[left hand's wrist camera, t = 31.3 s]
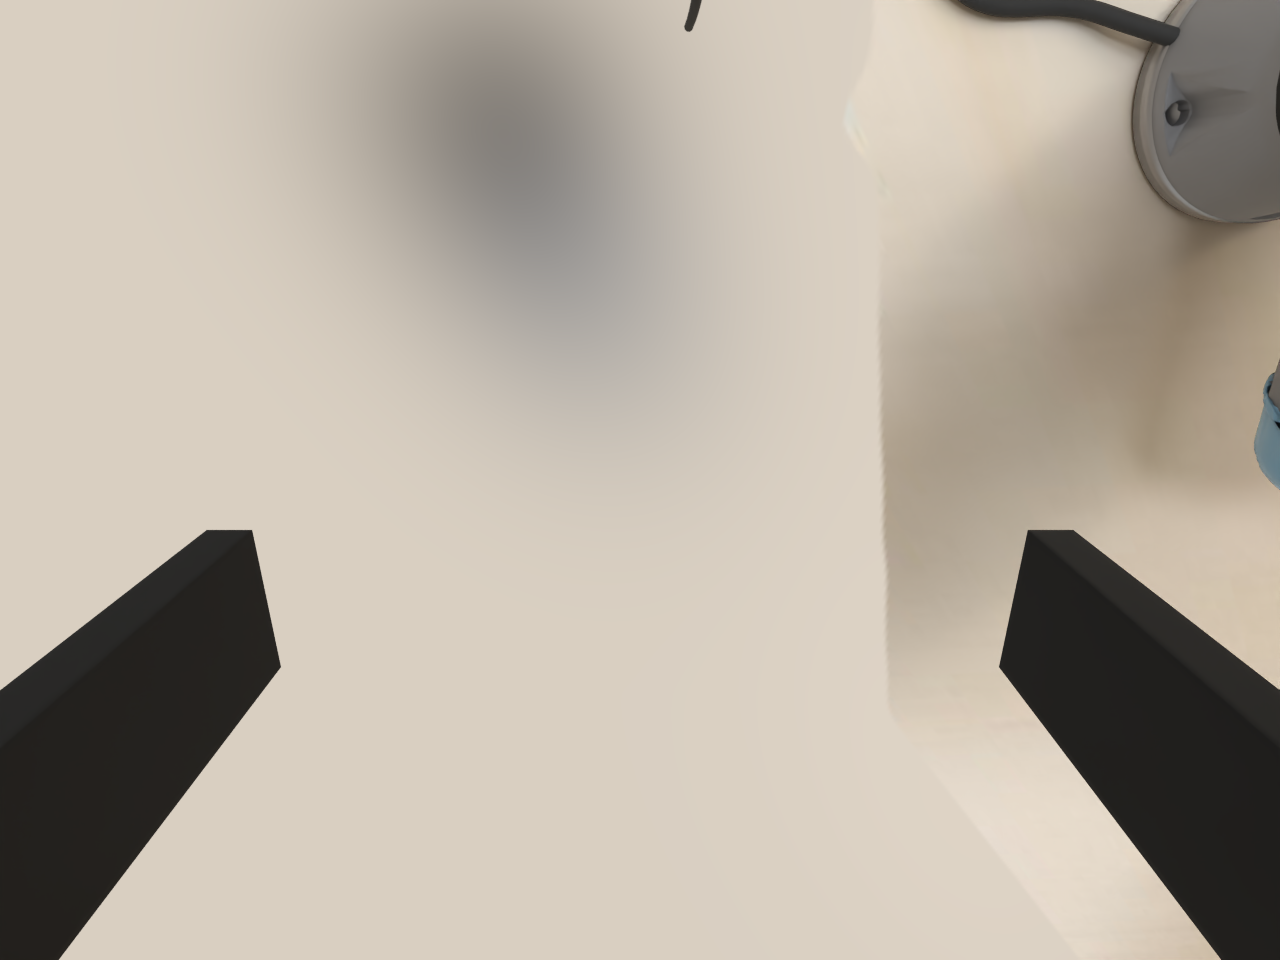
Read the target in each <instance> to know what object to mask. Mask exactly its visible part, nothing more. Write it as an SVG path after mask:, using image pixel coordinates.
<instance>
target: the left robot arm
mask: <svg viewBox="0 0 1280 960" xmlns="http://www.w3.org/2000/svg"><path fill="white" fill-rule="evenodd" d="M958 1H960V2H961V3H963V4H964V5H965V6H967V7H969V8H972V9H974V10H976V11H978V12H981V13H984V14H988V15H993V16H1000V17H1032V16H1065V17H1073V18H1078V19H1083V20H1087V21H1090V22H1094V23H1097V24H1100V25H1103V26H1105V27H1108V28H1111V29H1114V30H1117V31H1119V32H1122V33H1125V34H1129V35H1132V36H1135V37H1138V38H1141V39H1144V40H1147V41H1150V42H1153V44H1152V46H1151V48H1150V50H1149V52H1148V54H1147V57H1146V59H1145V62H1144V64H1143V67H1142V70H1141V74H1140V77H1139V80H1138V84H1137V89H1136V94H1135V100H1134V108H1133V133H1134V141H1135V147H1136V151H1137V155H1138V159H1139V161H1140V164H1141V166H1142V169H1143V171H1144V173H1145V175H1146V177H1147V179H1148V180H1149V182H1150V183H1151V185H1152V186H1153V188H1154V189H1155V190H1156V191H1157V192H1158V194H1159V195H1160V196H1161V197H1162V198H1163V199H1165V200H1166V201H1167V202H1168V203H1169V204H1170V205H1172V206H1173V207H1175V208H1176V209H1178V210H1180V211H1182V212H1184V213H1186V214H1188V215H1190V216H1193V217H1196V218H1199V219H1204V220H1208V221H1216V222H1230V223H1258V222H1267V221H1272V220H1277V219H1280V0H1181V1H1180V2H1179V4H1178V5H1177V6H1176V7H1175V9H1174V10H1173V11H1172V12H1171V14H1170V15H1169V17H1168V18H1167V20H1166V21H1165V23H1163V22H1160V21H1157V20H1154V19H1151V18H1148V17H1145V16H1142V15H1138V14H1135V13H1132V12H1129V11H1127V10H1124V9H1121V8H1118V7H1115V6H1112V5H1109V4H1106V3H1103V2H1100V1H1096V0H958ZM701 2H702V0H691V3H690V8H689V12H688V16H687V20H686V22H685V25H684V28H685V30H686V31H687V32H690V31H692V29H693V27H694V24H695V22H696V19H697V16H698V13H699V9H700V6H701ZM1263 394H1264V399H1263V402H1264V408H1263V411H1262V415H1261V418H1260V422H1259V425H1258V429H1257V433H1256V436H1255V441H1254V450H1255V454H1256V456H1257V461H1258V462H1259V467H1260V469H1261V470H1262V472H1263V473H1264V474H1265V476H1266V477H1267V478H1268V479H1269V480H1270V481H1271V482H1272V483H1273V484H1274V485H1275V486H1276V487H1277V488H1278V489H1279V490H1280V360H1279V363H1278V366H1277V369H1276V372H1275V373H1273V374H1271V375H1270V376H1269V378H1268V380H1267V381H1266V383H1265V386H1264V390H1263ZM280 668H281V665H280V660H279V656H278V651H277V646H276V642H275V637H274V632H273V627H272V623H271V618H270V613H269V608H268V603H267V599H266V594H265V589H264V585H263V580H262V575H261V570H260V566H259V561H258V556H257V551H256V547H255V542H254V537H253V532H252V530H206V531H205V532H204V533H203V534H201V535H200V536H199V537H197V538H196V539H195V540H193V541H192V542H191V543H190V544H188V545H187V546H186V547H184V548H183V549H182V550H181V551H179V552H178V553H177V554H175V555H174V556H173V557H172V558H170V559H169V560H168V561H166V562H165V563H164V564H162V565H161V566H160V567H159V568H157V569H156V570H155V571H153V572H152V573H151V574H150V575H148V576H147V577H146V578H144V579H143V580H142V581H141V582H139V583H138V584H137V585H135V586H134V587H133V588H132V589H130V590H129V591H128V592H127V593H125V594H124V595H123V596H121V597H120V598H119V599H117V600H116V601H115V602H114V603H112V604H111V605H110V606H108V607H107V608H106V609H105V610H103V611H102V612H101V613H99V614H98V615H97V616H95V617H94V618H93V619H92V620H90V621H89V622H88V623H86V624H85V625H84V626H83V627H81V628H80V629H79V630H78V631H76V632H75V633H74V634H72V635H71V636H70V637H68V638H67V639H66V640H65V641H63V642H62V643H61V644H59V645H58V646H57V647H56V648H54V649H53V650H52V651H50V652H49V653H48V654H47V655H45V656H44V657H43V658H41V659H40V660H39V661H37V662H36V663H35V664H34V665H32V666H31V667H30V668H29V669H27V670H26V671H25V672H23V673H22V674H21V675H20V676H18V677H17V678H16V679H14V680H13V681H12V682H10V683H9V684H8V685H7V686H5V687H4V688H3V689H1V690H0V960H59V959H60V957H61V956H62V955H63V953H64V952H65V951H66V949H67V948H68V947H69V945H70V944H71V943H72V941H73V940H74V939H75V937H76V936H77V935H78V934H79V932H80V931H81V930H82V928H83V927H84V926H85V924H86V923H87V922H88V920H89V919H90V918H91V916H92V915H93V914H94V912H95V911H96V910H97V908H98V907H99V906H100V905H101V903H102V902H103V901H104V899H105V898H106V897H107V895H108V894H109V893H110V891H111V890H112V889H113V888H114V886H115V885H116V884H117V882H118V881H119V880H120V878H121V877H122V876H123V874H124V873H125V872H126V870H127V869H128V868H129V866H130V865H131V864H132V862H133V861H134V860H135V859H136V857H137V856H138V855H139V853H140V852H141V851H142V849H143V848H144V847H145V845H146V844H147V843H148V841H149V840H150V839H151V837H152V836H153V835H154V833H155V832H156V831H157V829H158V828H159V827H160V826H161V824H162V823H163V822H164V820H165V819H166V818H167V816H168V815H169V814H170V812H171V811H172V810H173V808H174V807H175V806H176V805H177V803H178V802H179V801H180V799H181V798H182V797H183V795H184V794H185V793H186V791H187V790H188V789H189V787H190V786H191V785H192V783H193V782H194V781H195V779H196V778H197V777H198V776H199V774H200V773H201V772H202V770H203V769H204V768H205V766H206V765H207V764H208V762H209V761H210V760H211V758H212V757H213V756H214V754H215V753H216V752H217V750H218V749H219V748H220V747H221V745H222V744H223V743H224V741H225V740H226V739H227V737H228V736H229V735H230V733H231V732H232V731H233V729H234V728H235V727H236V725H237V724H238V723H239V722H240V720H241V719H242V718H243V716H244V715H245V714H246V712H247V711H248V710H249V708H250V707H251V706H252V704H253V703H254V702H255V700H256V699H257V698H258V697H259V695H260V694H261V693H262V691H263V690H264V689H265V687H266V686H267V685H268V683H269V682H270V681H271V679H272V678H273V677H274V675H275V674H276V673H277V671H278V670H279V669H280ZM999 668H1000V669H1001V670H1002V671H1003V673H1004V674H1005V675H1006V677H1007V678H1008V679H1009V681H1010V682H1011V683H1012V685H1013V686H1014V687H1015V689H1016V690H1017V691H1018V693H1019V694H1020V695H1021V697H1022V698H1023V699H1024V700H1025V702H1026V703H1027V704H1028V706H1029V707H1030V708H1031V710H1032V711H1033V712H1034V714H1035V715H1036V716H1037V718H1038V719H1039V720H1040V722H1041V723H1042V724H1043V725H1044V727H1045V728H1046V729H1047V731H1048V732H1049V733H1050V735H1051V736H1052V737H1053V739H1054V740H1055V741H1056V743H1057V744H1058V745H1059V747H1060V748H1061V749H1062V751H1063V752H1064V753H1065V754H1066V756H1067V757H1068V758H1069V760H1070V761H1071V762H1072V764H1073V765H1074V766H1075V768H1076V769H1077V770H1078V772H1079V773H1080V774H1081V776H1082V777H1083V778H1084V779H1085V781H1086V782H1087V783H1088V785H1089V786H1090V787H1091V789H1092V790H1093V791H1094V793H1095V794H1096V795H1097V797H1098V798H1099V799H1100V801H1101V802H1102V803H1103V805H1104V806H1105V807H1106V808H1107V810H1108V811H1109V812H1110V814H1111V815H1112V816H1113V818H1114V819H1115V820H1116V822H1117V823H1118V824H1119V826H1120V827H1121V828H1122V830H1123V831H1124V832H1125V833H1126V835H1127V836H1128V837H1129V839H1130V840H1131V841H1132V843H1133V844H1134V845H1135V847H1136V848H1137V849H1138V851H1139V852H1140V853H1141V855H1142V856H1143V857H1144V859H1145V860H1146V861H1147V862H1148V864H1149V865H1150V866H1151V868H1152V869H1153V870H1154V872H1155V873H1156V874H1157V876H1158V877H1159V878H1160V880H1161V881H1162V882H1163V884H1164V885H1165V886H1166V888H1167V889H1168V890H1169V891H1170V893H1171V894H1172V895H1173V897H1174V898H1175V899H1176V901H1177V902H1178V903H1179V905H1180V906H1181V907H1182V909H1183V910H1184V911H1185V913H1186V914H1187V915H1188V916H1189V918H1190V919H1191V920H1192V922H1193V923H1194V924H1195V926H1196V927H1197V928H1198V930H1199V931H1200V932H1201V934H1202V935H1203V936H1204V938H1205V939H1206V940H1207V942H1208V943H1209V944H1210V945H1211V947H1212V948H1213V949H1214V951H1215V952H1216V953H1217V955H1218V956H1219V957H1220V959H1221V960H1280V690H1279V689H1277V688H1276V687H1275V686H1273V685H1272V684H1271V683H1270V682H1268V681H1267V680H1266V679H1264V678H1263V677H1262V676H1261V675H1259V674H1258V673H1257V672H1255V671H1254V670H1253V669H1252V668H1250V667H1249V666H1248V665H1246V664H1245V663H1244V662H1243V661H1241V660H1240V659H1239V658H1237V657H1236V656H1235V655H1234V654H1232V653H1231V652H1230V651H1228V650H1227V649H1226V648H1224V647H1223V646H1222V645H1221V644H1219V643H1218V642H1217V641H1215V640H1214V639H1213V638H1212V637H1210V636H1209V635H1208V634H1206V633H1205V632H1204V631H1203V630H1201V629H1200V628H1199V627H1197V626H1196V625H1195V624H1194V623H1192V622H1191V621H1190V620H1188V619H1187V618H1186V617H1185V616H1183V615H1182V614H1181V613H1179V612H1178V611H1177V610H1176V609H1174V608H1173V607H1172V606H1170V605H1169V604H1168V603H1166V602H1165V601H1164V600H1163V599H1161V598H1160V597H1159V596H1157V595H1156V594H1155V593H1154V592H1152V591H1151V590H1150V589H1148V588H1147V587H1146V586H1145V585H1143V584H1142V583H1141V582H1139V581H1138V580H1137V579H1136V578H1134V577H1133V576H1132V575H1130V574H1129V573H1128V572H1127V571H1125V570H1124V569H1123V568H1121V567H1120V566H1119V565H1118V564H1116V563H1115V562H1114V561H1112V560H1111V559H1110V558H1108V557H1107V556H1106V555H1105V554H1103V553H1102V552H1101V551H1099V550H1098V549H1097V548H1096V547H1094V546H1093V545H1092V544H1090V543H1089V542H1088V541H1087V540H1085V539H1084V538H1083V537H1081V536H1080V535H1079V534H1078V533H1076V532H1075V531H1074V530H1028V532H1027V537H1026V542H1025V547H1024V551H1023V556H1022V561H1021V566H1020V570H1019V575H1018V580H1017V584H1016V589H1015V594H1014V599H1013V603H1012V608H1011V613H1010V618H1009V622H1008V627H1007V632H1006V637H1005V641H1004V646H1003V651H1002V656H1001V660H1000V665H999Z"/></svg>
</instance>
